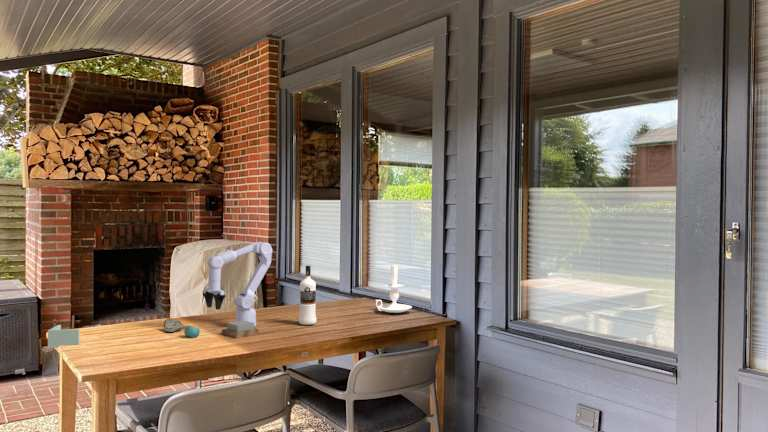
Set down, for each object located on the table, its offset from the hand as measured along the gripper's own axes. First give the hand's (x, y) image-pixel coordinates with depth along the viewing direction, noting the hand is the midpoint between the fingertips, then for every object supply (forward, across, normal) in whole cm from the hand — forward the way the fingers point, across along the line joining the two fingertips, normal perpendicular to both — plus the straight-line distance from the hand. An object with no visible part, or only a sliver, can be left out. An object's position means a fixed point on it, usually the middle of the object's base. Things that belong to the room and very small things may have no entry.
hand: (213, 308), depth 283 cm
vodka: (+10, +22, +42) cm, 48 cm away
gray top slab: (+8, +19, +3) cm, 20 cm away
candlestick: (+8, +34, +96) cm, 102 cm away
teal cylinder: (+8, +4, -16) cm, 18 cm away
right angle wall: (+12, -19, -59) cm, 64 cm away
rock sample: (+11, -8, -20) cm, 24 cm away
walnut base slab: (+11, +18, +3) cm, 22 cm away
